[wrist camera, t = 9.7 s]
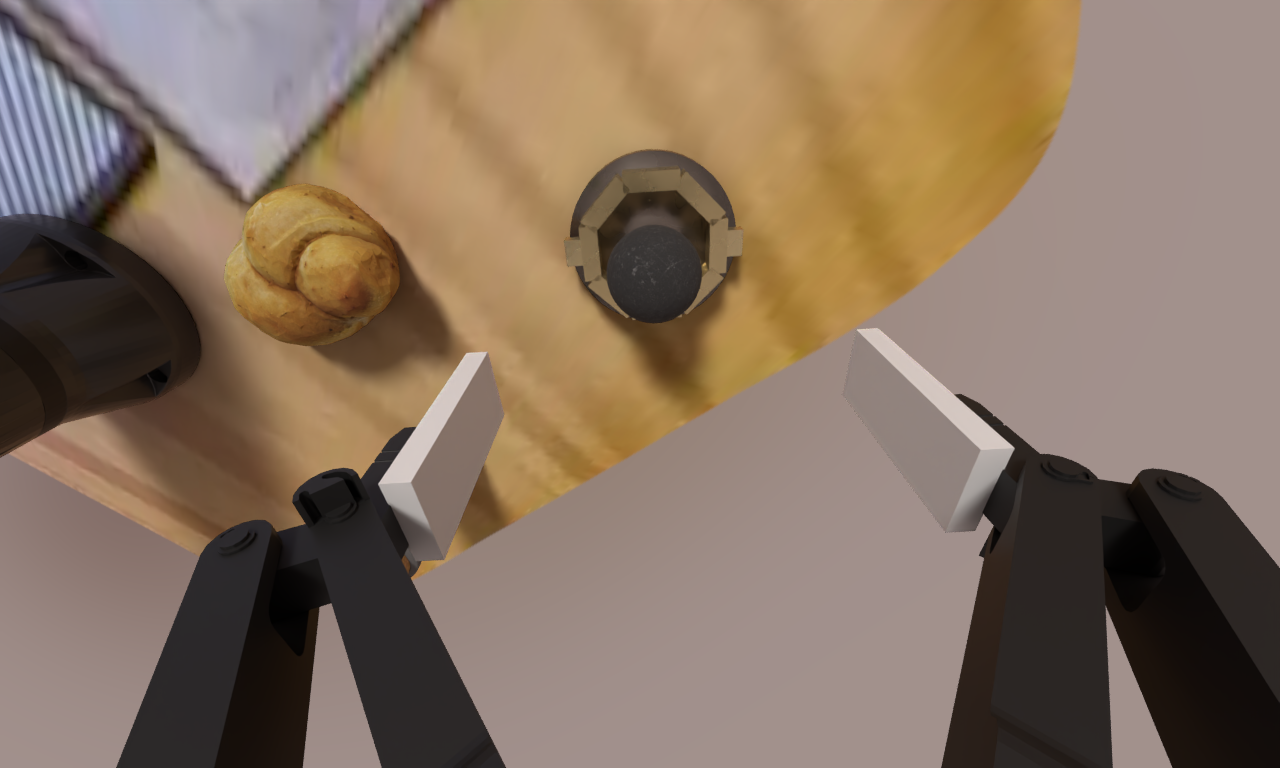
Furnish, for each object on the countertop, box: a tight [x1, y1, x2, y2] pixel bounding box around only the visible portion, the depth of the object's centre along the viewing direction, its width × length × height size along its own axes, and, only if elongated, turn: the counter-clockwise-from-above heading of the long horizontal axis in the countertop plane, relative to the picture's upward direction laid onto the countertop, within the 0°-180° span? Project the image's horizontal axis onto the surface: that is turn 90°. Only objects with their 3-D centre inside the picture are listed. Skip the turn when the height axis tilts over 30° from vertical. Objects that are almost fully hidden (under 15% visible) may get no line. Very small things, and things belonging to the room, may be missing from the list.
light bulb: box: [607, 225, 702, 323], centre depth 28 cm, size 6×6×10 cm
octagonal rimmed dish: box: [564, 149, 743, 320], centre depth 32 cm, size 12×12×4 cm
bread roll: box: [224, 184, 400, 346], centre depth 31 cm, size 13×10×8 cm
